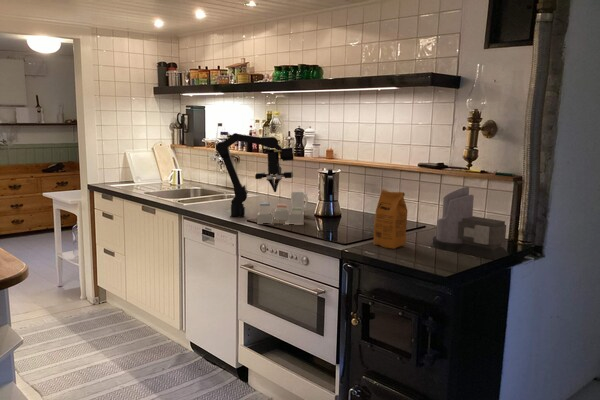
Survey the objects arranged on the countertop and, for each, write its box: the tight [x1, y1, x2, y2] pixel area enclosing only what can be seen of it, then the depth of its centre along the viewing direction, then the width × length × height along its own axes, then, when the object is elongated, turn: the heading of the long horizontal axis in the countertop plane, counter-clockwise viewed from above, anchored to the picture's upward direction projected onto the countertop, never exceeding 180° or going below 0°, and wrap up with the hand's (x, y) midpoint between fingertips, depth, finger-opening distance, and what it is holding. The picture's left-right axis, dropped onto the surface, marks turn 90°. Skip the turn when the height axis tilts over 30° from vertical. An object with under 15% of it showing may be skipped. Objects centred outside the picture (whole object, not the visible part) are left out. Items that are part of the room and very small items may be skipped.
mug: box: [290, 191, 309, 213], centre depth 271 cm, size 10×7×12 cm, turn 127°
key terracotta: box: [276, 203, 288, 211], centre depth 258 cm, size 5×5×6 cm
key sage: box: [292, 207, 301, 214], centre depth 250 cm, size 5×5×6 cm
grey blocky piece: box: [428, 186, 511, 261], centre depth 199 cm, size 30×16×24 cm, turn 41°
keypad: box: [256, 208, 305, 226], centre depth 253 cm, size 22×18×4 cm
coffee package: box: [373, 189, 409, 249], centre depth 204 cm, size 10×12×22 cm
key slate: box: [259, 201, 271, 215], centre depth 247 cm, size 5×5×6 cm
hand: (275, 192), depth 264 cm, fingers closed
